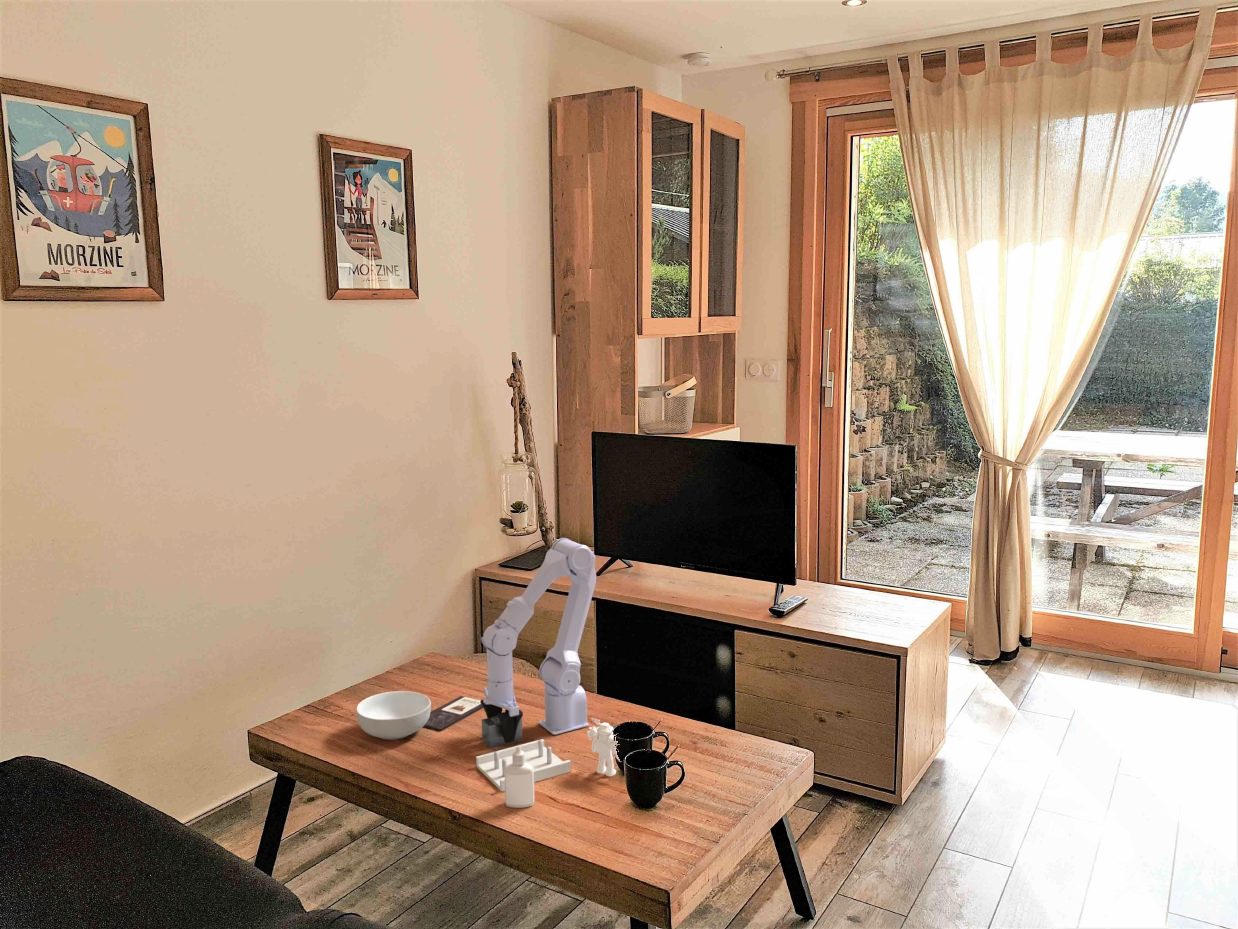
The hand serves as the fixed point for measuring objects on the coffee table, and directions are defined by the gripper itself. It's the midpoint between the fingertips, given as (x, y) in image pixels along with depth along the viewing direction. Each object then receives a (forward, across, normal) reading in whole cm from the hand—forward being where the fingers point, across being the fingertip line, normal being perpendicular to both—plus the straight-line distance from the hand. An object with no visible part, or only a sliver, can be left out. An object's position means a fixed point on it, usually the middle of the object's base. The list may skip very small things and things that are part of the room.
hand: (502, 735), depth 216 cm
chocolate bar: (+2, -21, -4) cm, 21 cm away
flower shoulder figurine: (+2, +26, +12) cm, 29 cm away
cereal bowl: (+2, -18, -19) cm, 26 cm away
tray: (+1, +15, -2) cm, 15 cm away
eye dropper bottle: (+2, +28, -9) cm, 29 cm away
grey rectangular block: (+2, 0, 0) cm, 2 cm away
